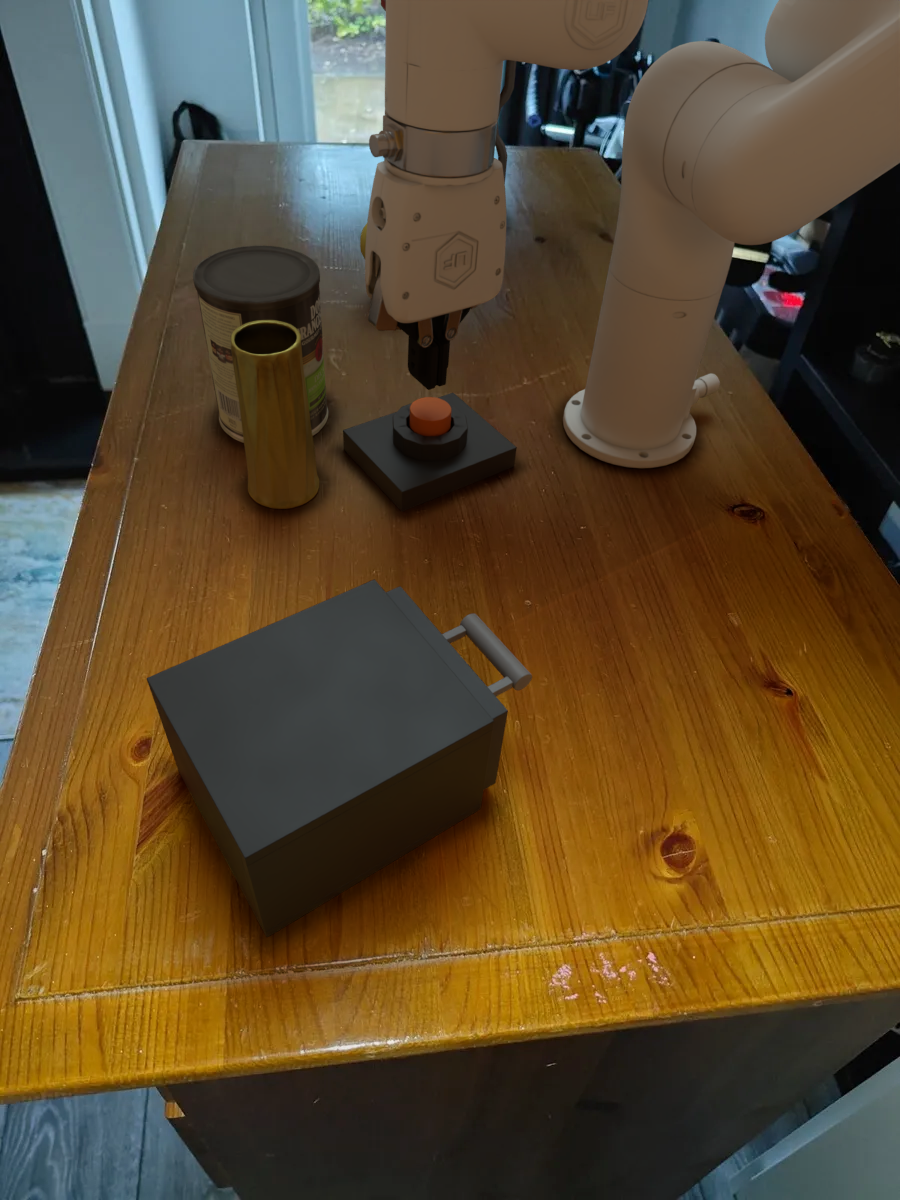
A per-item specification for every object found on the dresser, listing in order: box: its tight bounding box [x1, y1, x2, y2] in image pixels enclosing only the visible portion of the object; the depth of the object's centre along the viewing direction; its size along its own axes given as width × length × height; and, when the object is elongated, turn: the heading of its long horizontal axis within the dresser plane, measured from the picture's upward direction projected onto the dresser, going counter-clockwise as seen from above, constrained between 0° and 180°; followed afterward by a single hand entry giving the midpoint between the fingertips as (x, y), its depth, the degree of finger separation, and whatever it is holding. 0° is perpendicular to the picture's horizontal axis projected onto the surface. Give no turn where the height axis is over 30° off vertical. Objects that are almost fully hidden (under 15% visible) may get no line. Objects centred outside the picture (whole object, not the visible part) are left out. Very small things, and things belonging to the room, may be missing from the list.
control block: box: [342, 392, 517, 512], centre depth 75 cm, size 12×10×4 cm
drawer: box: [385, 585, 533, 791], centre depth 51 cm, size 18×11×8 cm, turn 124°
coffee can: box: [192, 245, 329, 444], centre depth 75 cm, size 10×10×14 cm
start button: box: [410, 396, 451, 436], centre depth 73 cm, size 4×4×2 cm
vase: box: [231, 320, 320, 510], centre depth 68 cm, size 6×6×14 cm
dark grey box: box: [146, 579, 494, 938], centre depth 49 cm, size 15×13×10 cm
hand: (427, 379), depth 70 cm, fingers closed
